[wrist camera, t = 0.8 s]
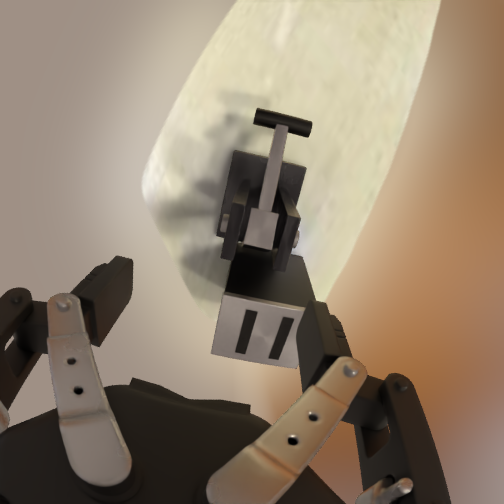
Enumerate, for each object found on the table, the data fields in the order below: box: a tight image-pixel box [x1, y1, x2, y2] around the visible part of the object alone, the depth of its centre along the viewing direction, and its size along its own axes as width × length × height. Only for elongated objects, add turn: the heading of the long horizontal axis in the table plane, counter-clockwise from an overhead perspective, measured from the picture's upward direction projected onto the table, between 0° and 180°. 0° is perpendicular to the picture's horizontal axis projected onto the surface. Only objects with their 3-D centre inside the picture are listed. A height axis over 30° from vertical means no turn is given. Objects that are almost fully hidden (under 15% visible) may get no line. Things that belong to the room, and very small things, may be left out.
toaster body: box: [211, 243, 316, 369], centre depth 31 cm, size 7×8×12 cm
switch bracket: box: [216, 150, 307, 272], centre depth 27 cm, size 10×8×13 cm
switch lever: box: [242, 108, 312, 252], centre depth 23 cm, size 12×5×2 cm, turn 169°
